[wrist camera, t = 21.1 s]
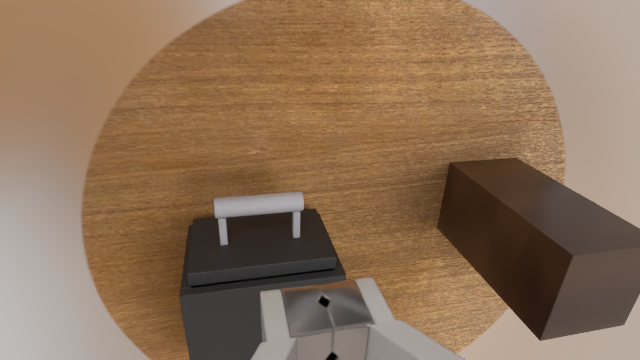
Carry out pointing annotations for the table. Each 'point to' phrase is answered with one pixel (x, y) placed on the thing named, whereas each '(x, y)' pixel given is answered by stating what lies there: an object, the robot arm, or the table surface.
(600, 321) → the stand
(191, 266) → the drawer
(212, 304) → the dark box sleeve
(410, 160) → the table surface
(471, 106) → the table surface
